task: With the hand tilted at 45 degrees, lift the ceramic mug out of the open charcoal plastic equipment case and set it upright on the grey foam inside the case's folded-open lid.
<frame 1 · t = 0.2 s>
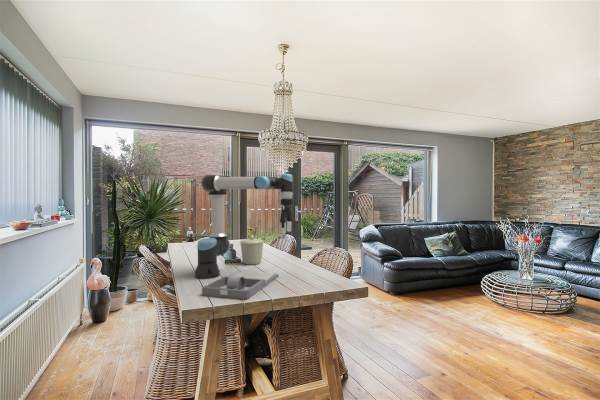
hand: (286, 232, 205), 28 cm above the table, tool pointing down, fingers open, 13 cm apart
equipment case: (235, 290, 174), on the table
canister: (252, 263, 244), on the table
ceramic mug: (234, 291, 174), resting in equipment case
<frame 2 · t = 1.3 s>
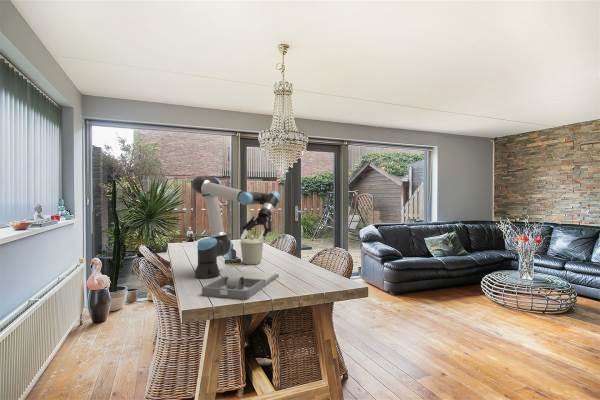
hand: (250, 240, 185), 26 cm above the table, tool tilted 45°, fingers open, 13 cm apart
nothing on the table moved.
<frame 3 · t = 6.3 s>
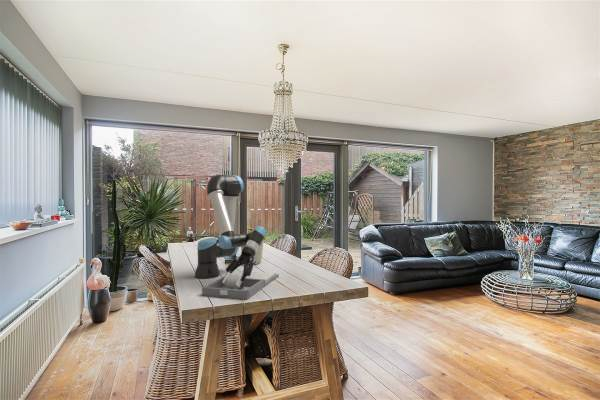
hand: (230, 284, 171), 4 cm above the table, tool tilted 45°, fingers closed on ceramic mug, 9 cm apart
ceramic mug: (233, 291, 172), resting in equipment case, touching gripper
everything else where it was.
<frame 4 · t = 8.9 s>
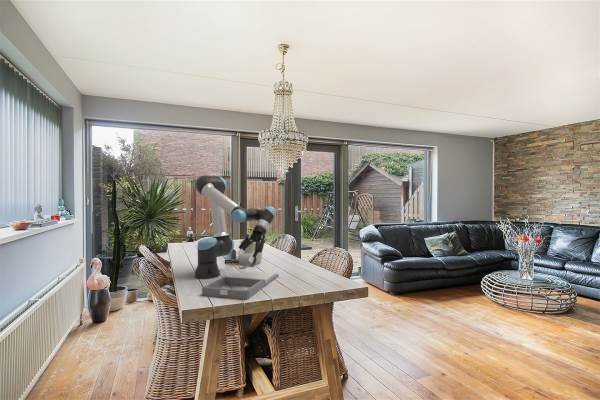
hand: (243, 260, 182), 14 cm above the table, tool tilted 40°, fingers closed on ceramic mug, 9 cm apart
ceramic mug: (246, 267, 184), point 10 cm above the table, touching gripper
everything else where it was.
when the fingers open (7 cm above the table, at t = 11.6 s): ceramic mug drops 1 cm, resting on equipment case.
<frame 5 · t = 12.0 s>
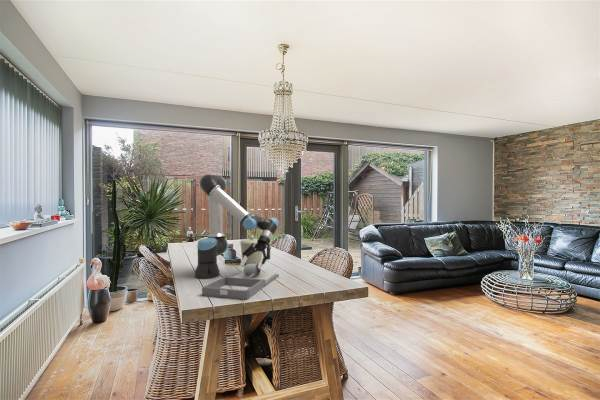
hand: (250, 266, 194), 8 cm above the table, tool tilted 45°, fingers open, 13 cm apart
ceramic mug: (251, 277, 195), point 2 cm above the table, touching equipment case
everything else where it was.
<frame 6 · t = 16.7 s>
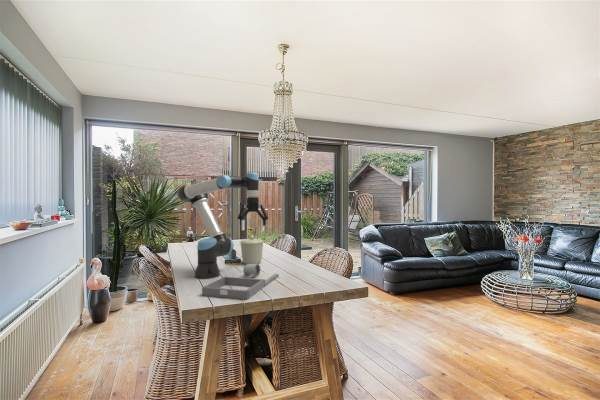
hand: (252, 230, 206), 29 cm above the table, tool pointing down, fingers open, 13 cm apart
nothing on the table moved.
at the end: ceramic mug inside the target area on the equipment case (2.1 cm from its centre), point 2.1 cm above the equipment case's base; ceramic mug tilted 0°; the gripper is holding nothing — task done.
